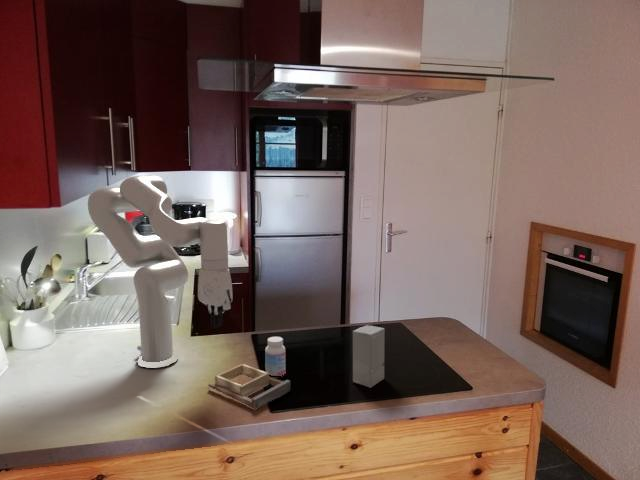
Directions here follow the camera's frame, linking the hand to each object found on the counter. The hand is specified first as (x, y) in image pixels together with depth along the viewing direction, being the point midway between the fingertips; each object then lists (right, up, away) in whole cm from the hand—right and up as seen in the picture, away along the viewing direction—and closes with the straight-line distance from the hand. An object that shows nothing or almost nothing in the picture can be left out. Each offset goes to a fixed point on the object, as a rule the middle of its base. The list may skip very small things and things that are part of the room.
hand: (217, 326), depth 147 cm
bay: (+10, -18, -5) cm, 21 cm away
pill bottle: (+16, -16, +7) cm, 24 cm away
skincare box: (+44, -17, +4) cm, 47 cm away
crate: (+8, -17, -3) cm, 19 cm away
